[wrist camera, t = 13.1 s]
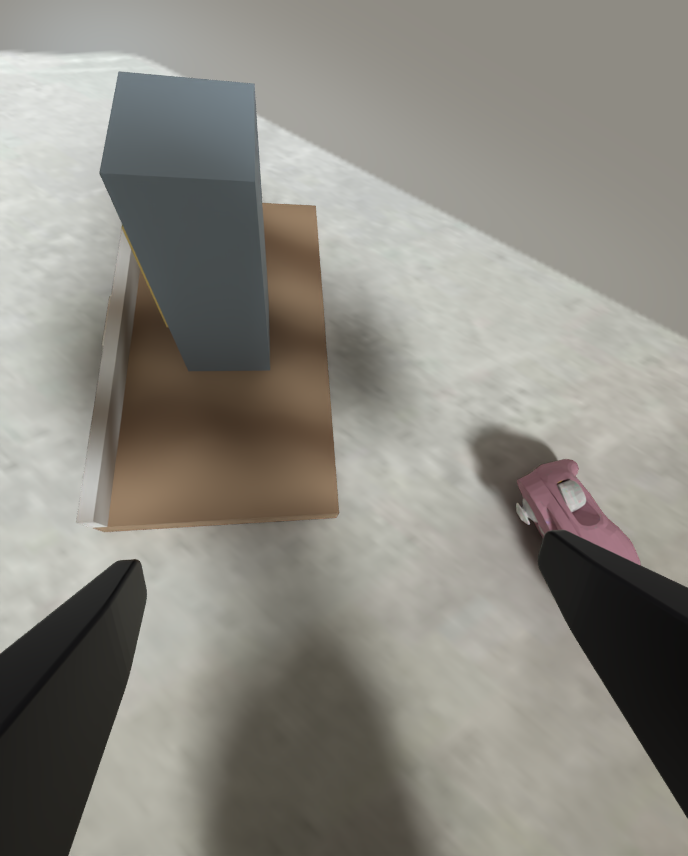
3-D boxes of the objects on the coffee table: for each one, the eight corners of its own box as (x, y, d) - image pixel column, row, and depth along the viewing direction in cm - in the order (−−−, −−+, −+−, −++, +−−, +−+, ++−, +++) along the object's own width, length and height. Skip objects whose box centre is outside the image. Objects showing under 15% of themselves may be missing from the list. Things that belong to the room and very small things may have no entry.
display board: (335, 517, 23) (342, 507, 20) (100, 532, 21) (71, 522, 18) (314, 223, 31) (317, 185, 28) (142, 215, 29) (126, 174, 26)
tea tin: (268, 300, 26) (254, 83, 15) (270, 370, 24) (254, 181, 13) (187, 299, 25) (109, 70, 14) (182, 371, 23) (88, 172, 12)
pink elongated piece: (496, 486, 27) (503, 479, 20) (564, 455, 26) (595, 436, 19) (582, 643, 24) (624, 695, 17) (663, 614, 23) (739, 656, 16)
